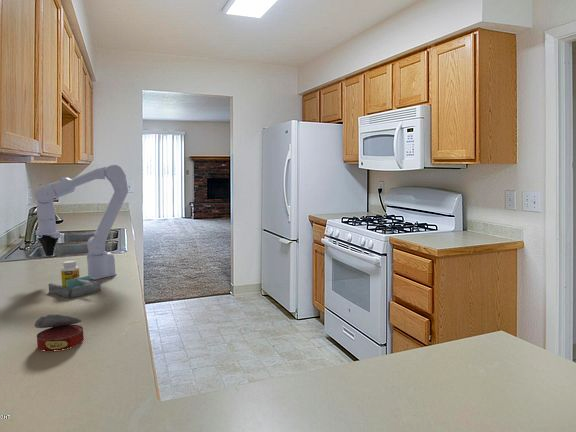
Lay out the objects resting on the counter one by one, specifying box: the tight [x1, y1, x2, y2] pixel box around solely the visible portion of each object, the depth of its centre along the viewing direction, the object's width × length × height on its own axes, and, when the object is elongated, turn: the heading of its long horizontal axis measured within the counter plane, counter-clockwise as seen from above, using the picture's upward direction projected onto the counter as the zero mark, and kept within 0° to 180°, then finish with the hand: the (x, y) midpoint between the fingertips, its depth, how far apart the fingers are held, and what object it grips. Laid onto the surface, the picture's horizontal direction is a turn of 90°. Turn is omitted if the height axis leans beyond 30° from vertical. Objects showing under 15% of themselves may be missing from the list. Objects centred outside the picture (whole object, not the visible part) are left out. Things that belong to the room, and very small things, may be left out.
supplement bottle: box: [60, 260, 81, 287], centre depth 152 cm, size 6×6×10 cm
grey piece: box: [48, 279, 101, 299], centre depth 151 cm, size 11×14×3 cm
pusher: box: [66, 274, 93, 288], centre depth 147 cm, size 8×9×5 cm
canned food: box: [34, 314, 85, 351], centre depth 105 cm, size 11×10×10 cm
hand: (49, 255), depth 165 cm, fingers closed
